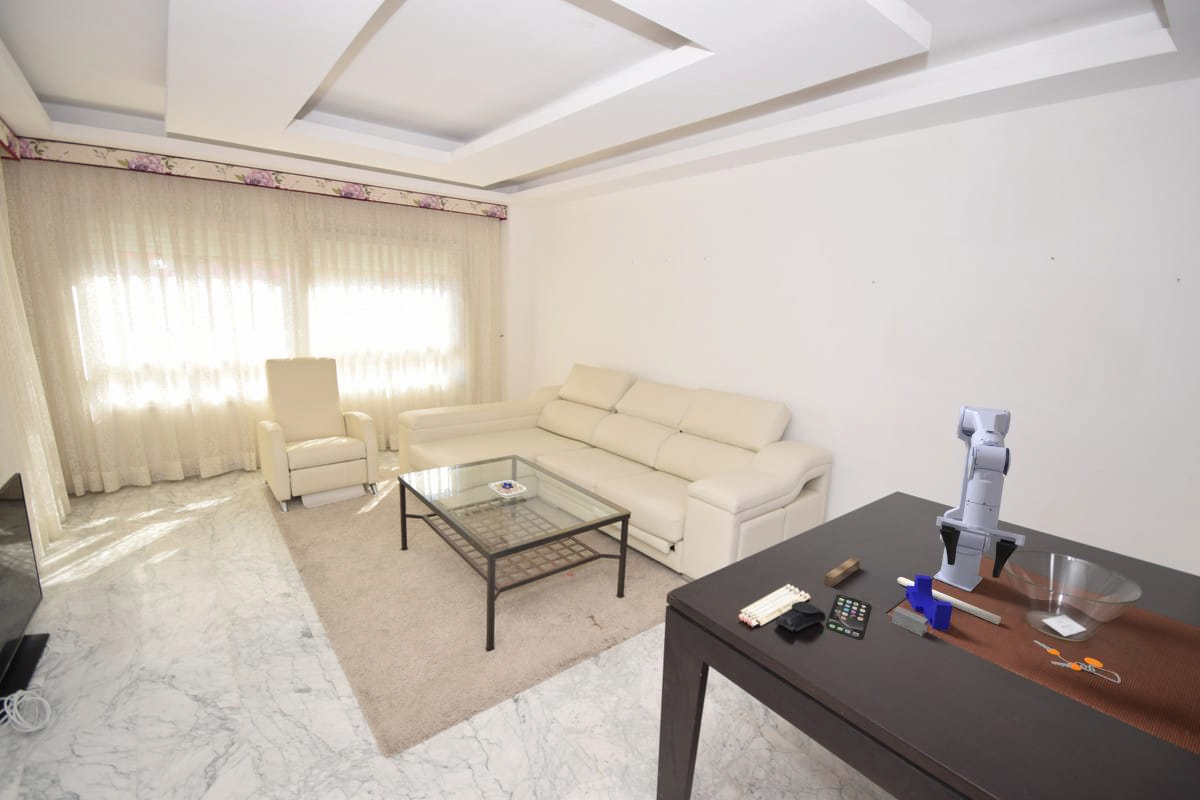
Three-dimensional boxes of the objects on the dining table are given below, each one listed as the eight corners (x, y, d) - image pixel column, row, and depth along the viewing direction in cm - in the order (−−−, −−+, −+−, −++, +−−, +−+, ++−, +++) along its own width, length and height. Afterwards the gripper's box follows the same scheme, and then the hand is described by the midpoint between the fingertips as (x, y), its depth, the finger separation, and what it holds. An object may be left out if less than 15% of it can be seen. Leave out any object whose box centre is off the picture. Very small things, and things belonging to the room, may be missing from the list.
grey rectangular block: (896, 618, 116) (898, 606, 115) (926, 631, 111) (928, 619, 111) (891, 622, 114) (893, 610, 114) (921, 636, 110) (923, 623, 109)
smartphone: (824, 627, 112) (836, 593, 125) (823, 629, 112) (836, 595, 125) (862, 640, 108) (871, 603, 121) (861, 642, 109) (871, 606, 121)
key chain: (1116, 667, 102) (1117, 663, 102) (1122, 689, 96) (1123, 685, 96) (1033, 639, 110) (1033, 636, 110) (1033, 658, 104) (1034, 655, 104)
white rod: (898, 581, 130) (899, 574, 130) (1000, 622, 115) (1001, 615, 114) (895, 583, 129) (896, 577, 129) (997, 626, 114) (998, 618, 113)
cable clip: (905, 596, 124) (908, 573, 123) (925, 598, 124) (929, 576, 122) (925, 628, 113) (929, 603, 112) (948, 631, 112) (952, 606, 111)
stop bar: (851, 565, 138) (852, 557, 137) (858, 568, 136) (859, 560, 136) (824, 583, 129) (825, 575, 128) (831, 587, 127) (832, 578, 127)
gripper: (935, 495, 109) (925, 560, 108) (1022, 513, 98) (1012, 585, 97) (946, 496, 113) (937, 558, 113) (1031, 513, 102) (1021, 582, 102)
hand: (972, 570), depth 105 cm, fingers open, 7 cm apart
